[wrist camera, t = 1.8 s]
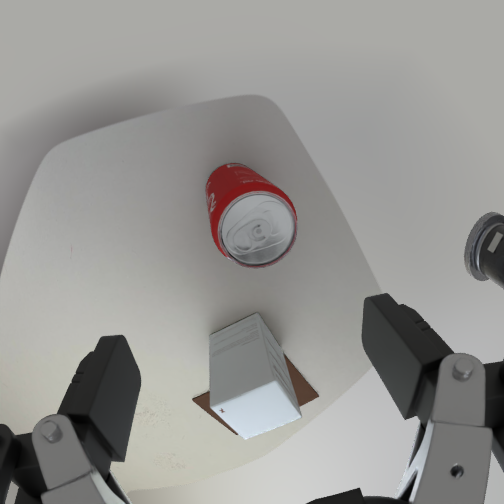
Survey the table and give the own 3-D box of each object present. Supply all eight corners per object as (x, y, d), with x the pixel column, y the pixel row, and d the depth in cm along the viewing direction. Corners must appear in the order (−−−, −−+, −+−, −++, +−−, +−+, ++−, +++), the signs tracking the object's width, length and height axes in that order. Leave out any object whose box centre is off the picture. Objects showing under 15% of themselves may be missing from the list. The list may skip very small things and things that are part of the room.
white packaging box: (235, 370, 42) (243, 441, 30) (208, 334, 39) (207, 407, 28) (283, 348, 42) (304, 418, 30) (259, 309, 39) (276, 380, 27)
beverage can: (199, 170, 32) (185, 200, 18) (260, 155, 32) (292, 172, 18) (214, 223, 34) (213, 287, 20) (272, 207, 34) (310, 261, 20)
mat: (283, 353, 42) (283, 354, 42) (318, 395, 46) (319, 396, 46) (192, 399, 44) (192, 400, 44) (236, 434, 48) (236, 435, 48)
